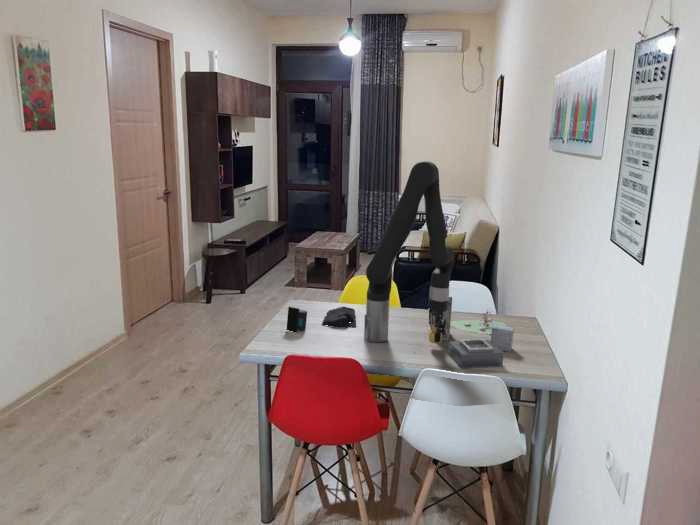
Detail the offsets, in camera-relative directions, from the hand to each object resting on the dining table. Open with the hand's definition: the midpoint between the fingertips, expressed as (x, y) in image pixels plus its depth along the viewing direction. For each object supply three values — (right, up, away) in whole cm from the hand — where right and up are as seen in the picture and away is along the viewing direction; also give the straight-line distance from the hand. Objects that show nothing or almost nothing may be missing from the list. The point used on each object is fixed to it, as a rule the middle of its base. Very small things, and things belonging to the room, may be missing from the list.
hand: (435, 338), depth 219 cm
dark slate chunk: (-38, +4, +33) cm, 50 cm away
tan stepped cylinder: (0, -1, 0) cm, 1 cm away
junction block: (+14, -7, -9) cm, 17 cm away
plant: (+23, +1, +28) cm, 36 cm away
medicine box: (+27, -4, +3) cm, 27 cm away
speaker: (-55, +1, +17) cm, 58 cm away
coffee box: (+5, -1, +15) cm, 16 cm away
